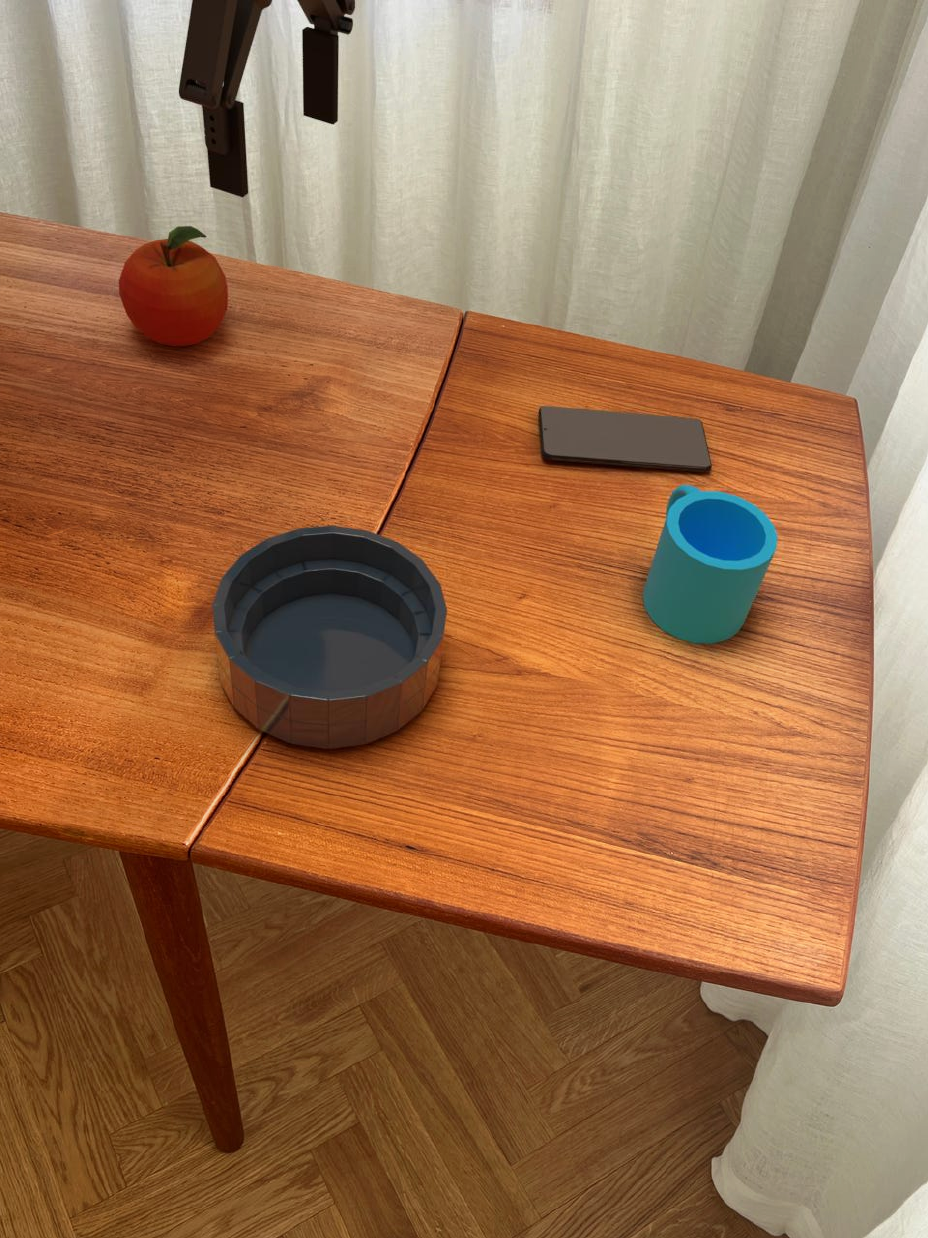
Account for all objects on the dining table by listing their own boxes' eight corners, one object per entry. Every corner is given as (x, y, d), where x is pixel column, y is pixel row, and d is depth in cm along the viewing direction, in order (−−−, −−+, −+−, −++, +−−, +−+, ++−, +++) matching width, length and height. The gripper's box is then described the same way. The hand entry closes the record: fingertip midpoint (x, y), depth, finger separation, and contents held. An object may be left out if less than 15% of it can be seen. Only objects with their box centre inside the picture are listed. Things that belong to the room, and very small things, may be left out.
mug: (761, 638, 85) (795, 565, 79) (661, 648, 83) (687, 574, 77) (708, 529, 93) (735, 454, 86) (615, 536, 91) (636, 460, 85)
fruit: (109, 317, 104) (92, 218, 96) (204, 293, 108) (195, 196, 100) (150, 374, 99) (136, 274, 91) (248, 346, 103) (242, 249, 96)
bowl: (175, 699, 76) (166, 643, 72) (289, 555, 86) (287, 498, 82) (379, 787, 73) (382, 735, 69) (473, 628, 83) (481, 573, 78)
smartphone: (713, 467, 96) (543, 454, 95) (710, 475, 97) (541, 462, 96) (701, 417, 101) (538, 403, 100) (699, 425, 102) (537, 411, 100)
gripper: (208, -119, 60) (232, 240, 76) (409, -209, 76) (394, 104, 91) (90, -150, 61) (138, 208, 77) (311, -232, 77) (313, 80, 93)
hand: (277, 152), depth 84 cm, fingers open, 13 cm apart
